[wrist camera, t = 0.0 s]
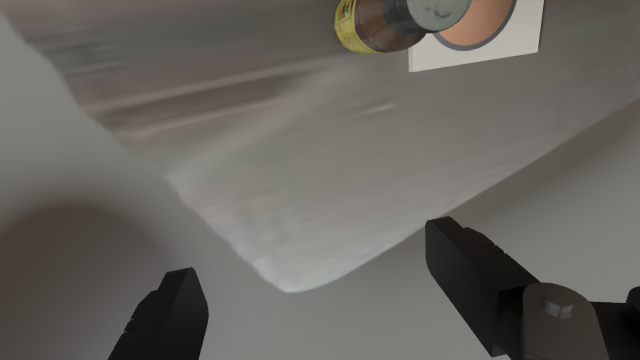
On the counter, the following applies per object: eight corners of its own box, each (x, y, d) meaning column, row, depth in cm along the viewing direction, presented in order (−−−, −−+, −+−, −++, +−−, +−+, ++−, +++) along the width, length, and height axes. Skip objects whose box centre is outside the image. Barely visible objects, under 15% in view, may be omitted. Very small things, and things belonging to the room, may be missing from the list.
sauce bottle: (366, -21, 33) (478, -119, 15) (393, 31, 36) (520, 2, 17) (318, 16, 34) (370, -33, 16) (348, 65, 36) (424, 72, 18)
